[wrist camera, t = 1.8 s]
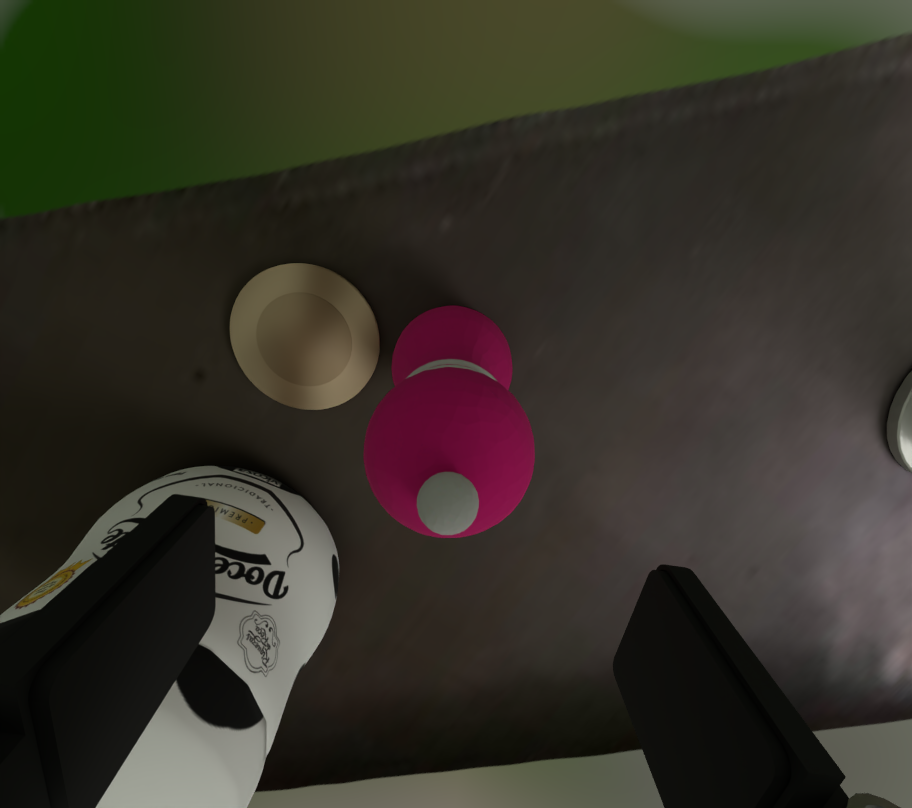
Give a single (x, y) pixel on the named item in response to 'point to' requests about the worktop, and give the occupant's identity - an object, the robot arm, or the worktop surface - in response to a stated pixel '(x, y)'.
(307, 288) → the plate
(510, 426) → the pepper mill
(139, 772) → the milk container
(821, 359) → the worktop surface
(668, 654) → the robot arm
